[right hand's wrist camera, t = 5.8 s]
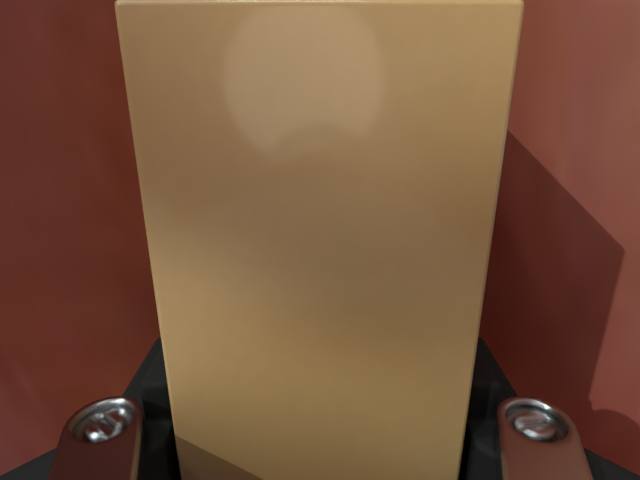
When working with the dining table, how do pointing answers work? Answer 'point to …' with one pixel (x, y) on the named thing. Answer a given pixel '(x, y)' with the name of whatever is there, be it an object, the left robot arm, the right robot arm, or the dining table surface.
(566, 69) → the dining table surface
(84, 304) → the dining table surface
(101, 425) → the right robot arm
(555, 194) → the dining table surface
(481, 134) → the post
